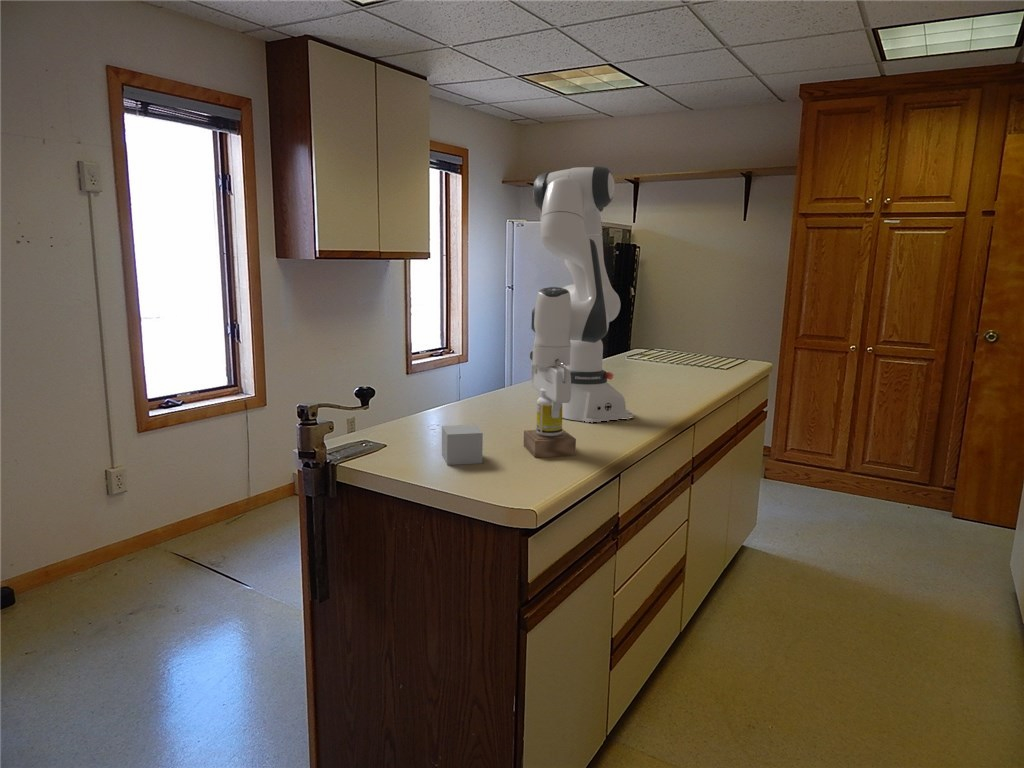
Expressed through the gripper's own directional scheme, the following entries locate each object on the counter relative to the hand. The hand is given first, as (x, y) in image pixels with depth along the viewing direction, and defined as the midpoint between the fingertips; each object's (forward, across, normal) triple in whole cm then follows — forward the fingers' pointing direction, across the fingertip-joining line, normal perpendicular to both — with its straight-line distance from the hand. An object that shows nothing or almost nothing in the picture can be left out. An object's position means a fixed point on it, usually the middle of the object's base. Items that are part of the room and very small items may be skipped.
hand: (549, 413), depth 159 cm
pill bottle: (+5, 0, 0) cm, 5 cm away
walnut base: (+9, 0, 0) cm, 9 cm away
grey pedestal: (+9, -3, +22) cm, 24 cm away
